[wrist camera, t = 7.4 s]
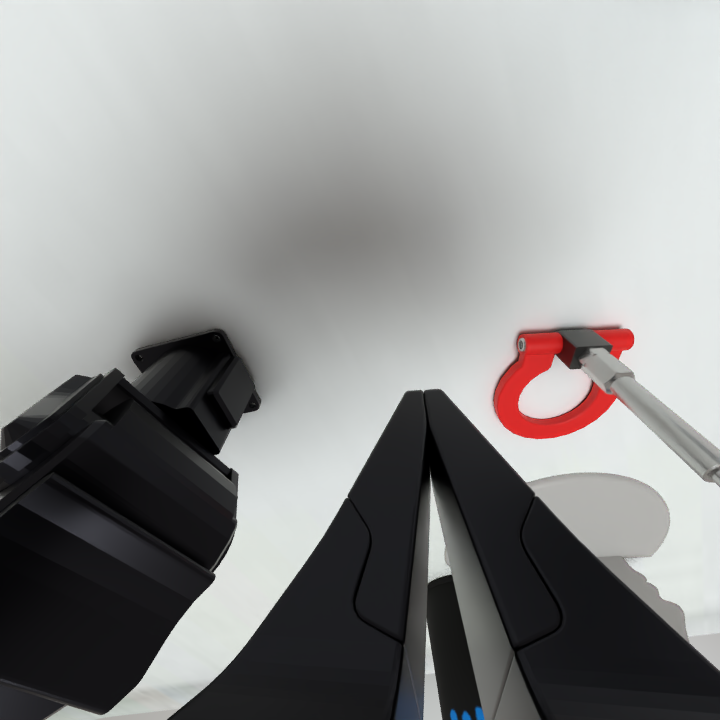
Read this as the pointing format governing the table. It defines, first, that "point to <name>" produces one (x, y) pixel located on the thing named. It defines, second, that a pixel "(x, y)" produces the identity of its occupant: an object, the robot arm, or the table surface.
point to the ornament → (614, 526)
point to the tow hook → (597, 393)
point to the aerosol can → (451, 654)
